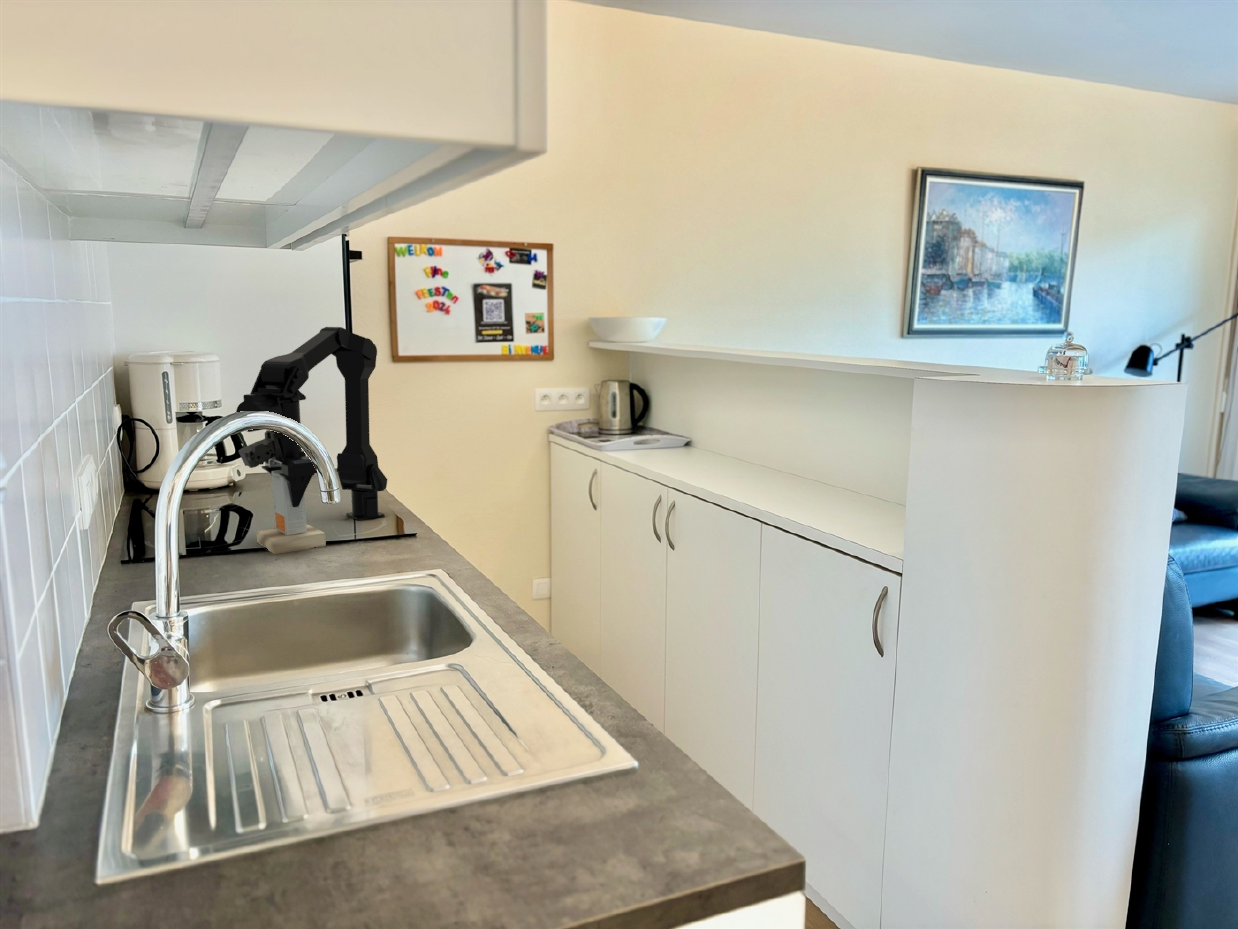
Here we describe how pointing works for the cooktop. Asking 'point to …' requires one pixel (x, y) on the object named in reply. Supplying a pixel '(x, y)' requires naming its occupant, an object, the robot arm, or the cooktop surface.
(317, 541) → the beech block
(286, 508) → the skincare box
